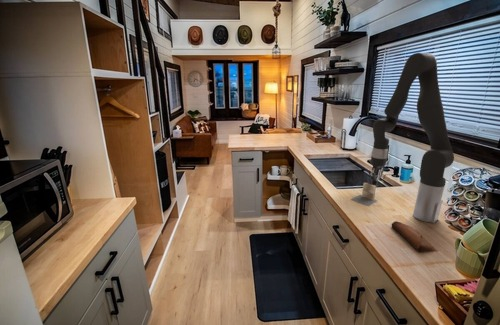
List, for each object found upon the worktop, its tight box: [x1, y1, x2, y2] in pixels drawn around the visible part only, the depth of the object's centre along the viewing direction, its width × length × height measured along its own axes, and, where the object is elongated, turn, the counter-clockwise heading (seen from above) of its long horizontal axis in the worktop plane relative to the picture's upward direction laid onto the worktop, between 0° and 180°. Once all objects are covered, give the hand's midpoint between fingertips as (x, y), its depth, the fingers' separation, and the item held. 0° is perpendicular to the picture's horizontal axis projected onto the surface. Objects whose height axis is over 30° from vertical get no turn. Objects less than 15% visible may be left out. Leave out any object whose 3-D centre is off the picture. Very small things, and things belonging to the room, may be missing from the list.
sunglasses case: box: [390, 220, 438, 253], centre depth 104 cm, size 18×7×7 cm, turn 2°
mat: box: [350, 194, 378, 207], centre depth 137 cm, size 10×10×1 cm
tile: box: [361, 182, 377, 200], centre depth 138 cm, size 6×2×8 cm, turn 39°
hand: (374, 186), depth 142 cm, fingers closed
